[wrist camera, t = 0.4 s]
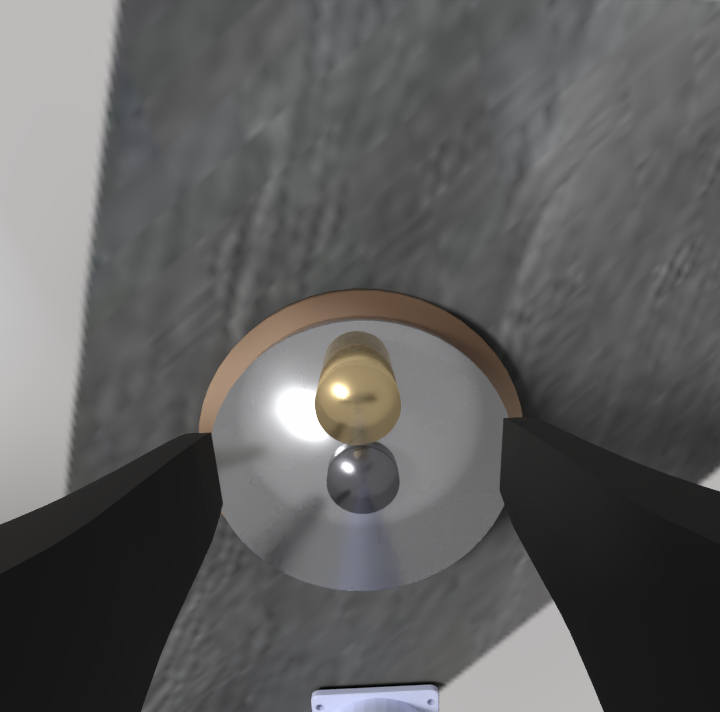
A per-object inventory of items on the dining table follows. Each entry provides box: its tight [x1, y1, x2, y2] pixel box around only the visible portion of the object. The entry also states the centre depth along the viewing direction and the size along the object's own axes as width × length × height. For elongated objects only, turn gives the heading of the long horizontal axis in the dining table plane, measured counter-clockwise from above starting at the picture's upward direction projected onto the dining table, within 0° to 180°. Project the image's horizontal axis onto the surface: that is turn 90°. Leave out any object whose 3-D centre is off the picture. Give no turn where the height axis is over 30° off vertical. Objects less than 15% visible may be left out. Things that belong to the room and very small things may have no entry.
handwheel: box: [212, 316, 509, 591], centre depth 18 cm, size 14×14×6 cm
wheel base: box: [199, 289, 523, 520], centre depth 20 cm, size 16×18×4 cm
